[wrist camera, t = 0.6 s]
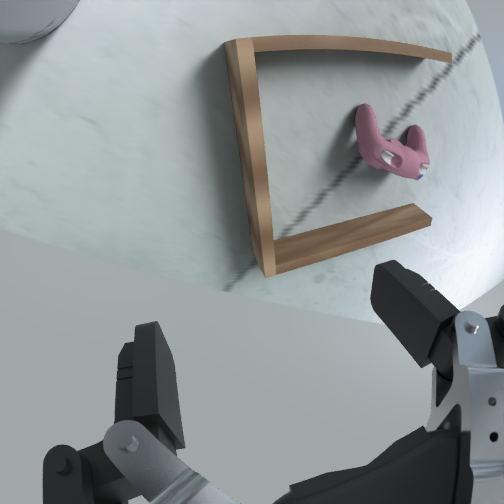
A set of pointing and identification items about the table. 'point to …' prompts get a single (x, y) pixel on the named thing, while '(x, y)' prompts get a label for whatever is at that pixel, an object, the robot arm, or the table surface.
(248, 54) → the wooden u-shaped frame
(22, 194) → the table surface
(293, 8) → the table surface
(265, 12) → the table surface
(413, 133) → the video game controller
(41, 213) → the table surface
